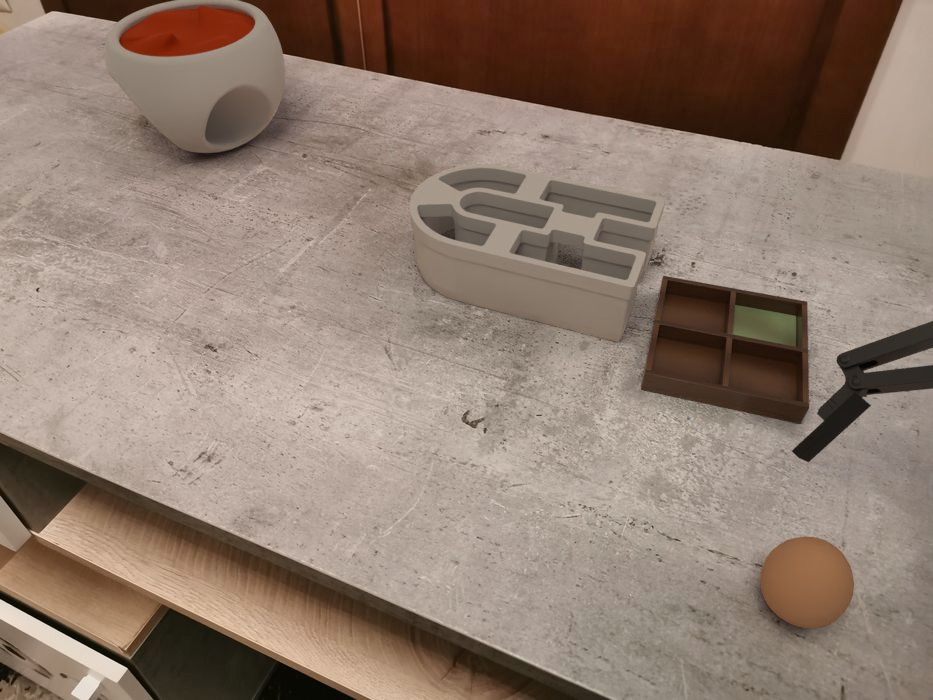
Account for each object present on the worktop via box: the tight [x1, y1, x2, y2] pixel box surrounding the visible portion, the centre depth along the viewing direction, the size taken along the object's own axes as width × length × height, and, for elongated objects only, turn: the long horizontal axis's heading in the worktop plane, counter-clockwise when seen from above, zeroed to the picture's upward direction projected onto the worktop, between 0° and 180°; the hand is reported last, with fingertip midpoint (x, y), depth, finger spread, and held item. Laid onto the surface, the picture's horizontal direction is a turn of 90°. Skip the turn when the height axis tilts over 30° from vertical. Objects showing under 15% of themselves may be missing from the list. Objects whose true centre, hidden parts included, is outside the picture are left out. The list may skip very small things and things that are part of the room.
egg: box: [759, 536, 855, 629], centre depth 56 cm, size 6×6×8 cm
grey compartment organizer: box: [409, 163, 666, 343], centre depth 86 cm, size 17×28×9 cm, turn 68°
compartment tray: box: [640, 275, 810, 425], centre depth 78 cm, size 16×16×3 cm
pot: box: [104, 0, 286, 154], centre depth 106 cm, size 24×24×18 cm
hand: (867, 524), depth 54 cm, fingers open, 13 cm apart
